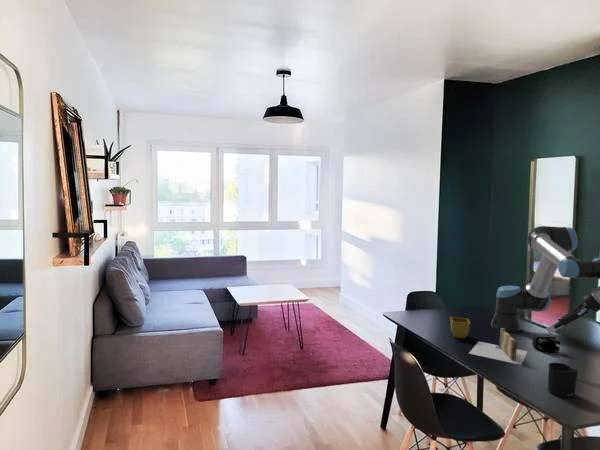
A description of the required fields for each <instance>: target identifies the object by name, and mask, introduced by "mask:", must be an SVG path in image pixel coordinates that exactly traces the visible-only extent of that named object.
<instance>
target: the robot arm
mask: <svg viewBox="0 0 600 450" xmlns="http://www.w3.org/2000/svg"><path fill="white" fill-rule="evenodd" d="M526 240H527V245H528V246H529V247H530V248H531V249H532V250H533V251H535V252H538V253H541V254H542V256H541V258H540V261H539V263H538V265H537V267H536V270H535V273H534V275H533V277H532V279H531V282H529V283H527V284H526V286H525V288H524V289H522V288H521V287H520V286H517V285H501V286H499V287H498V288H497V291H496V300H495V301H496V302H495V312H494V315H493V318H492V319H491V322H490V326H491V328H492V329H494V330H498V331H501V328H505V331H506V332H511V333H513V332H514V333H517V332H520V331H521V329H522V326H521V322H520V317H519V311H524V312H526V311H527V312H544V311H547V310H548V309H549V307H550V305H551V300H552V299H551V295H550V292H549V290H548V289H549V287H550V285H551V283H552V281H553V279H554V276H555V274H556V272H557V271H558V273H559V275H560V276H561V277H563V278H568V279H589V280H590V279H591V280H594V279H595V280H600V256H599V257H595V258H593V259H592V260H583V259H582V260H580V259H578V258H577V257H576V256H574V255H572V253H570V252H572V251H575V250H576V249H577V247H578V244H579V243H578V242H579V241H578V235H577V232H576V230H575V229H574V228H572V227H566V226H563V227H561V226H549V225H548V226H546V225H539V226H536V227H534V228H532V229H531V230H530V231H529V233H528V235H527V238H526ZM582 300H583V301H584V303H579V304H578V305H577V306H576V307H574V308H573V309H572V310H570V311H569V312H567V313H566V314H564V315H563V316H561V318H558V319H557V321H555V322H553V323H551V325H549V326H547V327H546V328H545V330H546V331H547V332H548V333H549V335H551V334H553V333H555V332H556V331H557V330H560V329H561V328H562V327H565V326H567V325H569V324H571V323H572V322H574V321H576V320H577V319H579V318H581V317H584V316H585V315H587V314H588V313H589V311H590V310H591V311H592V312H594V313H597V312H599V311H600V285H599V286H597V287H596V288H594V289H592V290H591V292H588V293H587V294H585V295H584V296H583V297H582Z"/></svg>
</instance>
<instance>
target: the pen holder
mask: <svg viewBox="0 0 600 450" xmlns="http://www.w3.org/2000/svg"><path fill="white" fill-rule="evenodd" d="M578 372H579V369H577V368H572V367H570V366H568V364H566V363H563V362H562V363H561V362H550V363H548V379H547V390H548V392H549V393H550V394H551V395H554V396H556V397H559V398H562V399H563V398H565V399H572V398H574V397H575V393H576V386H577V380H578V378H577V377H578Z"/></svg>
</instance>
